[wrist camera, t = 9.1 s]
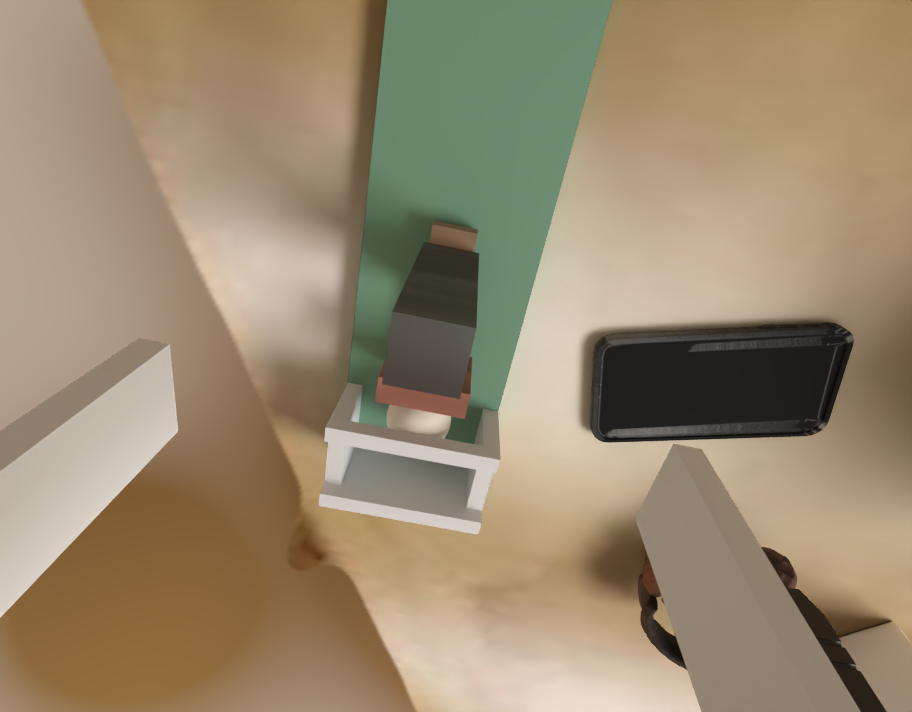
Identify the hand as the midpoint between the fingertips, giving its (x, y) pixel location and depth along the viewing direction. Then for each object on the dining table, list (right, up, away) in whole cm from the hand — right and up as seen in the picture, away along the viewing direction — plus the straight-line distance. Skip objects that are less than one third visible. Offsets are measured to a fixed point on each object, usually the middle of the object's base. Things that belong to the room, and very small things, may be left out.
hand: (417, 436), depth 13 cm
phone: (+17, +1, +19) cm, 26 cm away
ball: (-1, -2, +17) cm, 17 cm away
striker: (0, +5, +16) cm, 16 cm away
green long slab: (+1, +8, +16) cm, 18 cm away
